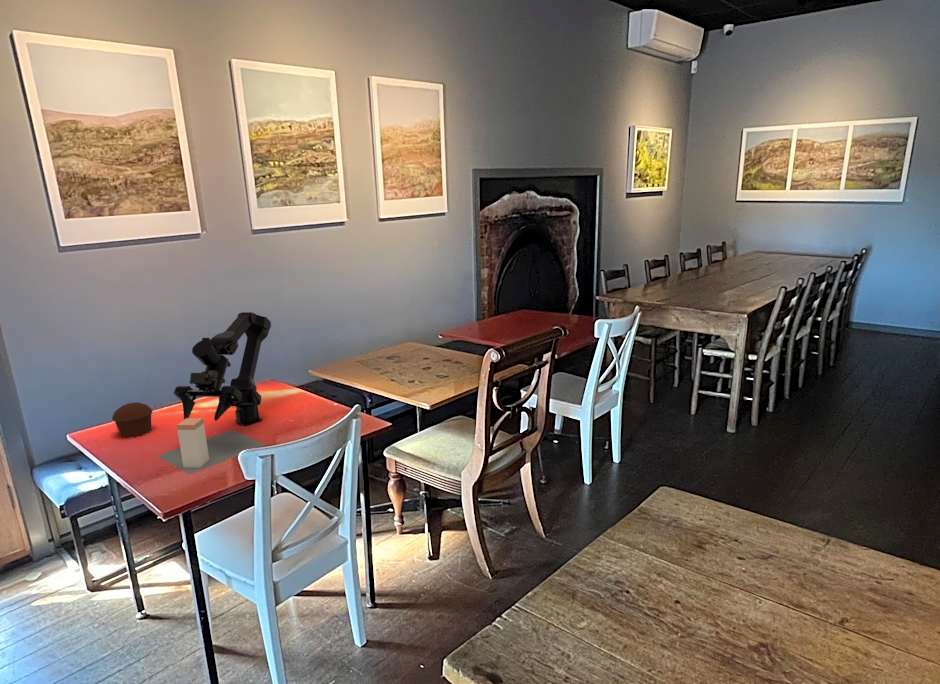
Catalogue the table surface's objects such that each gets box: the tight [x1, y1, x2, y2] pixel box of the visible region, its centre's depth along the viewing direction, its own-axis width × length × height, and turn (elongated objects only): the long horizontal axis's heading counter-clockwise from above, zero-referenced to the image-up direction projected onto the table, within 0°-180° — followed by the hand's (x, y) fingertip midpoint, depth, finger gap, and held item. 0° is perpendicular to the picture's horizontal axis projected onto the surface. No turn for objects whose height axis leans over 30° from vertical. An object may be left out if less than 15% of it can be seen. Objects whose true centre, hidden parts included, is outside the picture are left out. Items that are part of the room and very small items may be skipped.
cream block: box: [176, 417, 209, 468], centre depth 166 cm, size 5×5×13 cm
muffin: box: [111, 402, 153, 438], centre depth 191 cm, size 12×11×10 cm
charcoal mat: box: [157, 429, 266, 475], centre depth 177 cm, size 24×20×1 cm
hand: (200, 420), depth 170 cm, fingers open, 9 cm apart
